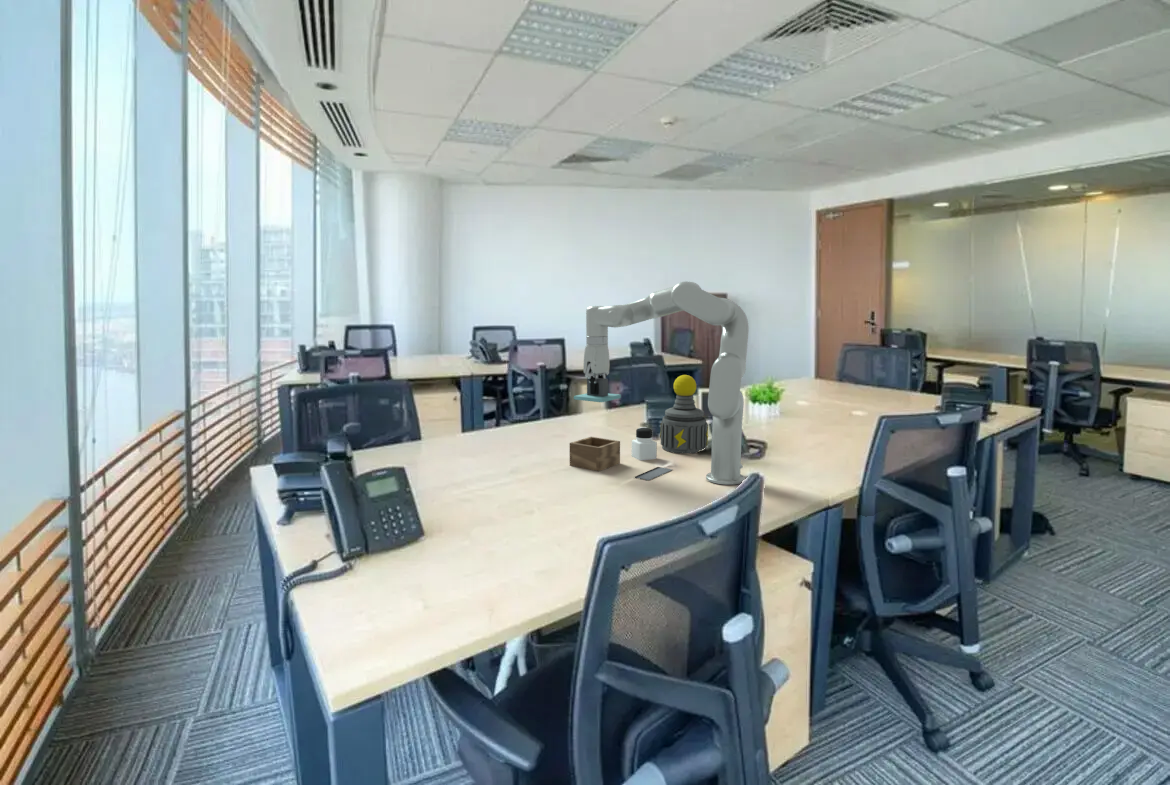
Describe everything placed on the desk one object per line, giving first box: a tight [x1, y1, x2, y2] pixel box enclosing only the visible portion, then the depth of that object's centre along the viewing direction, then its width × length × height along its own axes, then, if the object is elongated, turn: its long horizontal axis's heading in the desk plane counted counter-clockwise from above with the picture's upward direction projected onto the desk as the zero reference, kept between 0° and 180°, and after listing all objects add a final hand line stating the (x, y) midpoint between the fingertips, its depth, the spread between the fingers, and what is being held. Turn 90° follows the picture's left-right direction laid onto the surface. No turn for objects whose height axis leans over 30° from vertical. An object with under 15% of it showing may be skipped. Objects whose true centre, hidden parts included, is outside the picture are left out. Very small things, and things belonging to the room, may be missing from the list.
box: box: [569, 436, 621, 472], centre depth 224 cm, size 13×13×9 cm
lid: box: [573, 378, 622, 403], centre depth 220 cm, size 12×12×7 cm
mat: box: [634, 466, 673, 481], centre depth 217 cm, size 16×16×1 cm
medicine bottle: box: [631, 426, 658, 461], centre depth 233 cm, size 7×7×12 cm
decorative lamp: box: [659, 374, 709, 454], centre depth 248 cm, size 19×19×30 cm
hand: (597, 393), depth 220 cm, fingers closed on lid, 3 cm apart
